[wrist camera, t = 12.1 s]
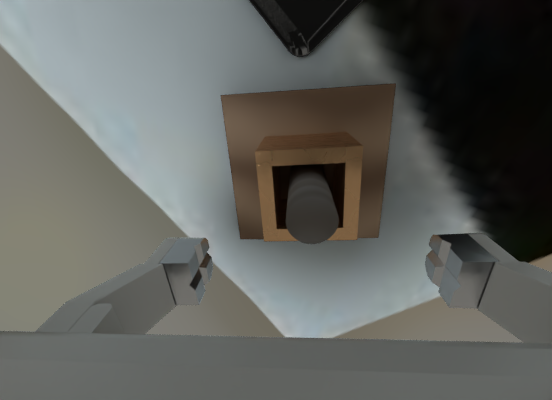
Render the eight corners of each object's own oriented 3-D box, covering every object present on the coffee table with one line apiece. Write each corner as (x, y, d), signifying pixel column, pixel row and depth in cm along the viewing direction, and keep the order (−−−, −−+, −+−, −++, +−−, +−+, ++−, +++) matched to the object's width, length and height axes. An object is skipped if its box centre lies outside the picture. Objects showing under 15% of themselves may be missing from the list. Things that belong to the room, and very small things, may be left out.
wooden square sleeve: (265, 136, 19) (254, 151, 14) (346, 131, 18) (363, 145, 14) (271, 208, 21) (264, 241, 17) (343, 206, 21) (357, 239, 16)
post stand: (226, 94, 19) (168, 99, 11) (388, 83, 18) (470, 78, 10) (243, 230, 24) (213, 309, 16) (373, 228, 23) (419, 313, 14)
